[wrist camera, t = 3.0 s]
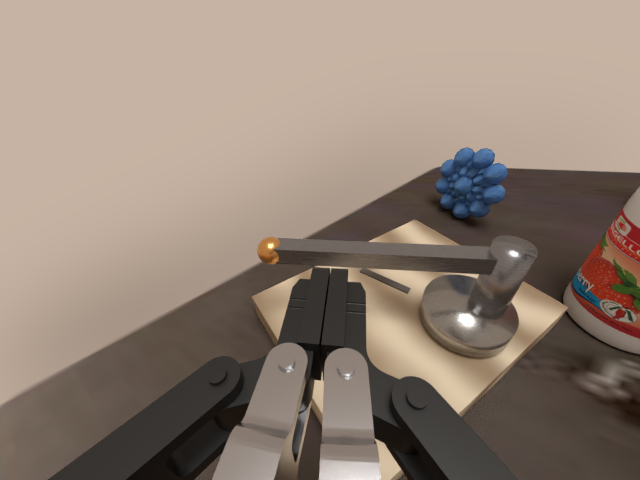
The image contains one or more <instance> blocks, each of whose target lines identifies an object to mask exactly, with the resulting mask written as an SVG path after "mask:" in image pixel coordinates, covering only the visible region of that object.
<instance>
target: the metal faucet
mask: <svg viewBox="0 0 640 480" xmlns="http://www.w3.org/2000/svg"><path fill="white" fill-rule="evenodd" d="M257 253H258V256H259V258H260V259H261V260H262V261H263V262H265V263H267V264H275V263H276V264H293V265H312V266H331V267H350V268H369V269H388V270H407V271H426V272H445V273H464V274H479V275H478V278H474V277H470V276H465V275H444V276H440V277H438V278H435V279H434V280H432V281H431V282H430V283H429V284H428V285H427V286H426V288H425V290H424V294H423V297H422V301H421V305H420V317H421V320H422V323H423V325H424V326H425V328H426V330H427V331H428V332H429V333H430V335H431V336H432V337H433V338H434V339H436V340H437V341H438V342H439V343H441V344H442V345H443V346H445V347H447V348H448V349H450V350H452V351H455V352H457V353H460V354H462V355H466V356H471V357H489V356H493V355H496V354H498V353H500V352H501V351H503V350H504V349H505V348H506V347H507V345H508V343H509V342H510V340H511V339H512V337H513V336H514V334H515V333H516V331H517V329H518V325H519V317H518V314H517V311H516V309H515V307H514V305H513V304H512V302H511V301H512V300H513V298H514V296H515V294H516V293H517V291H518V289H519V287H520V286H521V284H522V282H523V280H524V278H525V277H526V275H527V273H528V271H529V270H530V268H531V266H532V264H533V263H534V261H535V259H536V257H537V256H538V250H537V248H536V247H535V246H534V245H533V244H531V243H530V242H528V241H526V240H524V239H522V238H519V237H515V236H509V235H503V236H498V237H496V238H495V239H494V240H493V242H492V244H491V247H483V246H458V245H434V244H410V243H385V242H361V241H336V240H312V239H286V238H275V237H268V238H265V239H263V240H262V241H261V242H260V243H259V245H258V249H257Z"/></svg>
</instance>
